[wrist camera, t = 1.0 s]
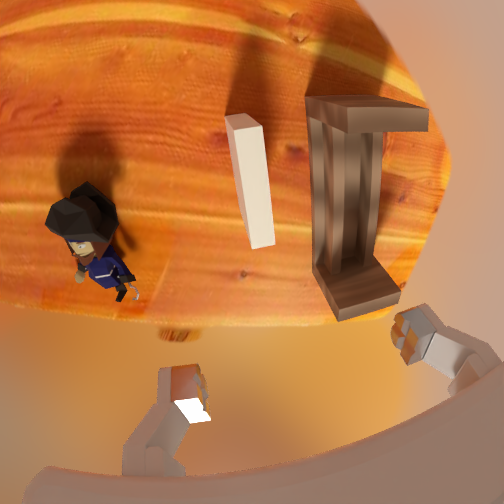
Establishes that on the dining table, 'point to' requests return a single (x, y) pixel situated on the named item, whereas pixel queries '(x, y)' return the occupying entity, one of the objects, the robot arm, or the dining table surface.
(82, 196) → the toy
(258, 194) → the door panel
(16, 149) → the dining table surface
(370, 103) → the wooden rack
